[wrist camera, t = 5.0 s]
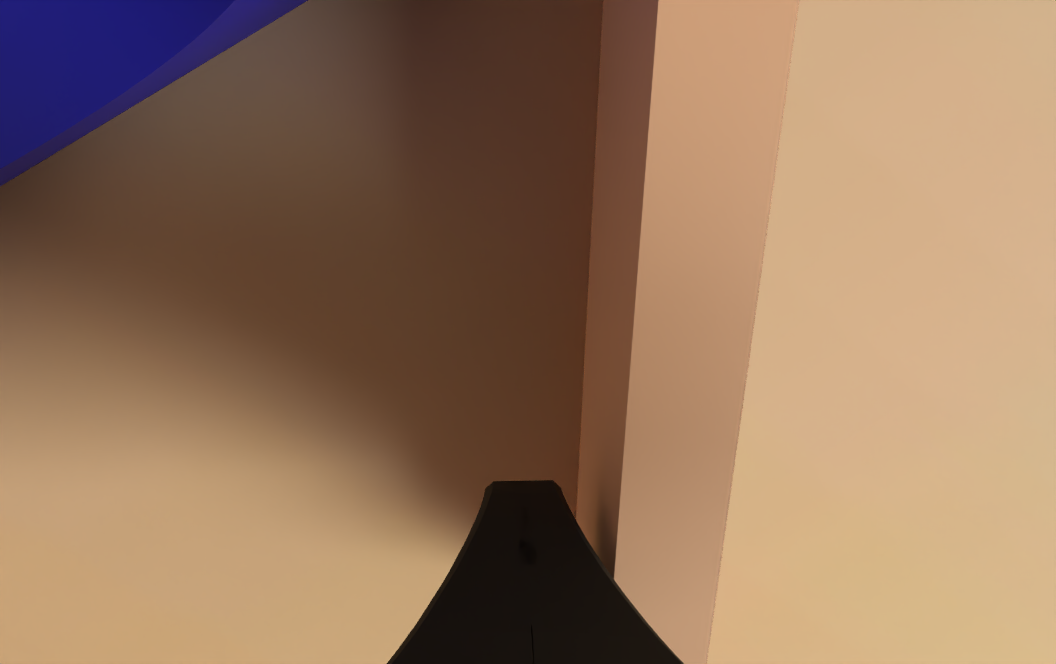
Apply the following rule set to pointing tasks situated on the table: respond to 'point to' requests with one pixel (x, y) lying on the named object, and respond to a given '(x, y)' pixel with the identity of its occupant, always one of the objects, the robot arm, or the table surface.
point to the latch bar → (675, 290)
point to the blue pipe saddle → (102, 62)
